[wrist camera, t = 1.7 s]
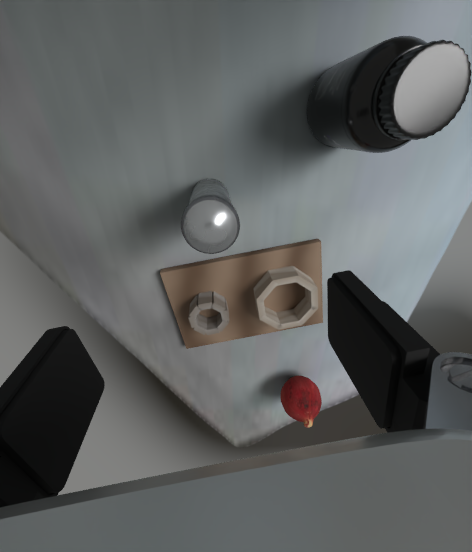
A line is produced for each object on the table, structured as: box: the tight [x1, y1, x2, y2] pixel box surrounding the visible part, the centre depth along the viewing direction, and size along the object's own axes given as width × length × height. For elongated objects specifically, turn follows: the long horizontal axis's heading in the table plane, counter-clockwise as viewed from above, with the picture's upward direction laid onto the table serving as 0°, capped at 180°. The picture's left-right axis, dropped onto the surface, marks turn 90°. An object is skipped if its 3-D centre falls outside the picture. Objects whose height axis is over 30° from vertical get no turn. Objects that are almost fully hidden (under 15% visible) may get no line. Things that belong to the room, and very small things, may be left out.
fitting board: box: [160, 239, 323, 349], centre depth 34 cm, size 19×12×4 cm, turn 100°
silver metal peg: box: [181, 179, 240, 254], centre depth 25 cm, size 4×4×10 cm
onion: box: [281, 376, 322, 428], centre depth 40 cm, size 6×6×8 cm
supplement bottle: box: [307, 36, 471, 153], centre depth 21 cm, size 7×7×12 cm
